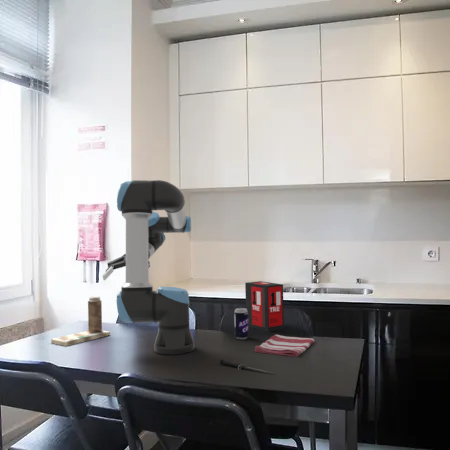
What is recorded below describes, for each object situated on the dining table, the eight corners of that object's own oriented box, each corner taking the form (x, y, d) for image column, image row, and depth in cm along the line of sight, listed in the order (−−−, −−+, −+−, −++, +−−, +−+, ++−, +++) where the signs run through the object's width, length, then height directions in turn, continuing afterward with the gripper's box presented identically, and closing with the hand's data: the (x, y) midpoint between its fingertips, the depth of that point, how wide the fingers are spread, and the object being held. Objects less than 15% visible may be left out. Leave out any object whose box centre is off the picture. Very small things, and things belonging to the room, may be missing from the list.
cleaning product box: (283, 329, 204) (283, 284, 205) (268, 332, 200) (267, 286, 200) (261, 323, 218) (260, 281, 218) (246, 325, 213) (245, 282, 214)
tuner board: (95, 332, 205) (95, 328, 205) (110, 335, 199) (110, 331, 199) (51, 342, 187) (51, 338, 187) (65, 346, 181) (65, 341, 181)
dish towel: (253, 353, 167) (253, 346, 167) (275, 339, 189) (275, 332, 189) (298, 358, 160) (298, 350, 160) (315, 342, 181) (315, 336, 181)
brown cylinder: (96, 329, 202) (95, 296, 202) (106, 331, 198) (106, 297, 198) (87, 331, 198) (86, 297, 199) (98, 333, 194) (97, 298, 194)
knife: (291, 373, 141) (284, 376, 137) (291, 379, 141) (283, 382, 137) (225, 357, 155) (217, 359, 151) (225, 363, 155) (216, 365, 151)
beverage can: (238, 340, 185) (238, 310, 185) (232, 337, 190) (231, 308, 190) (251, 338, 188) (250, 309, 188) (244, 335, 193) (243, 307, 193)
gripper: (167, 266, 212) (142, 296, 196) (121, 252, 220) (94, 280, 204) (165, 254, 208) (140, 283, 192) (119, 240, 216) (91, 267, 200)
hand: (116, 282), depth 198 cm, fingers open, 13 cm apart
